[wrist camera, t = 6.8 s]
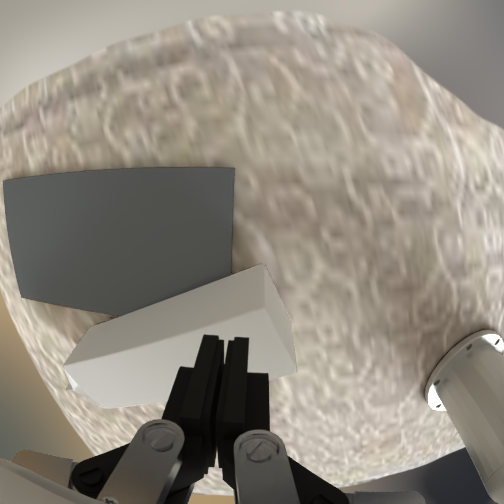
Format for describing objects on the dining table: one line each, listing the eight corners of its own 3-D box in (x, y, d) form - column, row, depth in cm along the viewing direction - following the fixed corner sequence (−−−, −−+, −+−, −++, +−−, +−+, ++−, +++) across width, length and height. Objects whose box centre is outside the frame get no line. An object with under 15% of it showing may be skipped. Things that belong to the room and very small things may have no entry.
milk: (265, 261, 22) (71, 331, 26) (265, 307, 16) (44, 368, 20) (292, 322, 24) (104, 371, 28) (299, 374, 18) (83, 410, 23)
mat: (234, 168, 21) (233, 168, 20) (230, 323, 25) (229, 327, 24) (6, 180, 21) (2, 180, 21) (24, 295, 25) (21, 297, 25)
